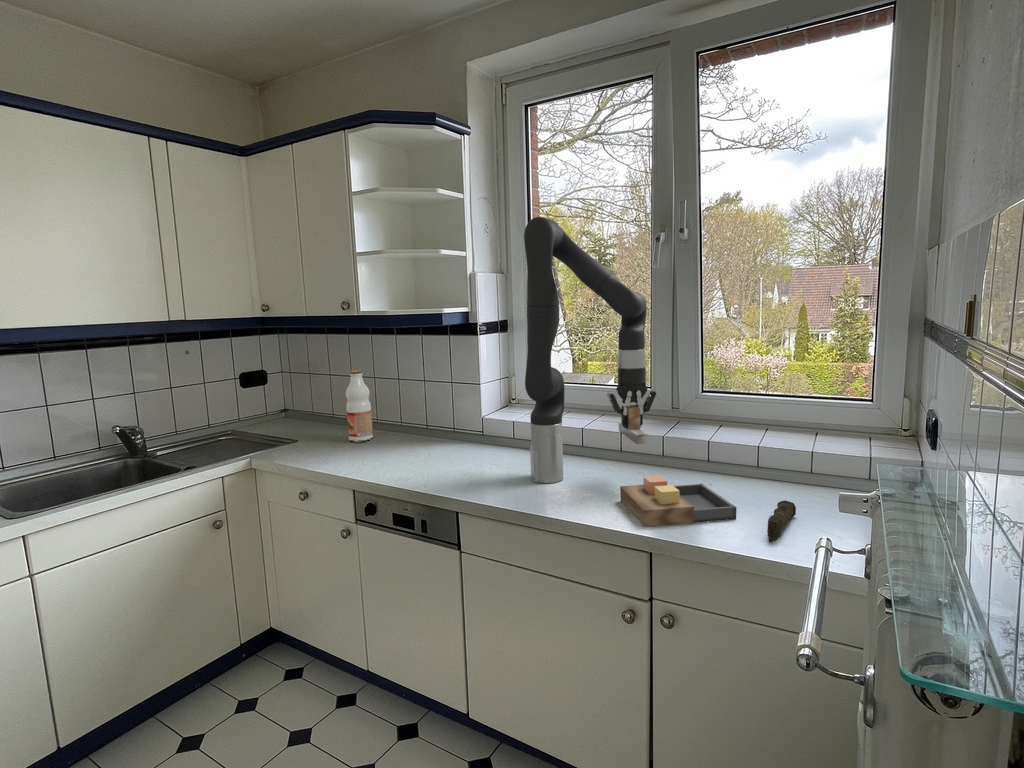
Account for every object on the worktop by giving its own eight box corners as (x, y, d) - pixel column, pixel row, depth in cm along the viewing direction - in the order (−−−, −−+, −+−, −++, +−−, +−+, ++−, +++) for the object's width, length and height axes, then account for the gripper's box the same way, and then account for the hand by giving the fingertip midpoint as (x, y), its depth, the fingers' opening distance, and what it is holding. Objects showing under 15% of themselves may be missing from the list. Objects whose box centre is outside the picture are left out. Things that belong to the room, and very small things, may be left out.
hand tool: (777, 514, 140) (778, 495, 139) (796, 517, 137) (796, 498, 137) (756, 542, 125) (756, 521, 124) (776, 546, 122) (776, 525, 122)
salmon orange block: (649, 494, 145) (649, 482, 144) (643, 488, 149) (643, 477, 149) (667, 492, 145) (667, 481, 145) (660, 487, 150) (660, 475, 149)
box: (693, 522, 136) (693, 510, 135) (664, 497, 153) (664, 486, 153) (736, 519, 137) (736, 507, 136) (702, 494, 155) (702, 483, 154)
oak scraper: (636, 444, 153) (636, 412, 152) (618, 430, 168) (618, 401, 166) (647, 443, 153) (647, 411, 152) (628, 430, 168) (628, 401, 167)
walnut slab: (644, 527, 134) (644, 510, 134) (620, 501, 152) (620, 486, 151) (693, 522, 136) (693, 506, 135) (664, 497, 153) (664, 482, 153)
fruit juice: (368, 442, 226) (363, 371, 222) (345, 443, 227) (339, 372, 223) (376, 437, 235) (371, 368, 231) (353, 437, 236) (348, 369, 232)
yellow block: (661, 504, 137) (661, 492, 137) (654, 498, 142) (654, 486, 141) (679, 502, 138) (679, 490, 137) (672, 496, 142) (672, 485, 142)
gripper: (651, 363, 163) (651, 423, 165) (602, 365, 161) (603, 426, 163) (661, 365, 155) (661, 428, 158) (610, 368, 153) (611, 432, 156)
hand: (631, 427), depth 160 cm, fingers closed on oak scraper, 3 cm apart
